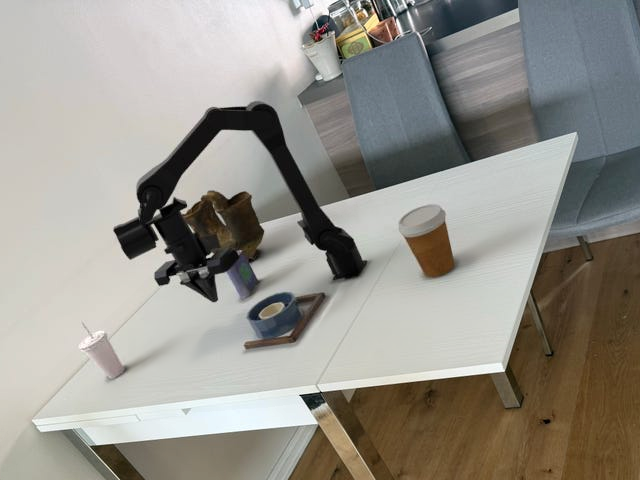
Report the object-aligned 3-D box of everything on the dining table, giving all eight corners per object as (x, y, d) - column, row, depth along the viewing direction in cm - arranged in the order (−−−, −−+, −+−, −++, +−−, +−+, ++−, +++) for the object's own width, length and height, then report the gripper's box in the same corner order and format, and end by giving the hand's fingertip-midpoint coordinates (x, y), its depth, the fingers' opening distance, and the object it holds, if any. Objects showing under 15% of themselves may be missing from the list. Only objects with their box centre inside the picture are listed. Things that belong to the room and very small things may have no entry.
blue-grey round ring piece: (311, 307, 144) (302, 288, 141) (291, 337, 136) (280, 318, 134) (271, 314, 149) (261, 296, 146) (248, 343, 141) (237, 324, 139)
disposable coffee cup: (410, 285, 135) (388, 231, 129) (425, 259, 142) (405, 208, 136) (454, 278, 131) (434, 223, 124) (468, 253, 137) (449, 199, 131)
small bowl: (294, 314, 143) (287, 300, 141) (284, 329, 139) (276, 316, 137) (273, 317, 146) (266, 304, 144) (262, 333, 142) (254, 319, 140)
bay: (326, 297, 145) (323, 291, 144) (295, 344, 133) (292, 338, 132) (280, 305, 151) (277, 300, 150) (246, 351, 139) (243, 345, 138)
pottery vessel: (288, 246, 179) (253, 176, 169) (262, 269, 173) (224, 198, 163) (227, 250, 195) (192, 187, 185) (201, 271, 189) (164, 207, 179)
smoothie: (113, 383, 150) (76, 332, 143) (98, 381, 154) (60, 331, 147) (134, 364, 154) (99, 314, 147) (119, 363, 158) (83, 314, 151)
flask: (249, 299, 160) (227, 260, 155) (238, 302, 161) (216, 263, 156) (261, 279, 167) (240, 241, 162) (250, 282, 168) (229, 245, 163)
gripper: (233, 208, 138) (268, 274, 146) (165, 226, 146) (201, 287, 154) (205, 235, 130) (244, 303, 138) (135, 252, 138) (175, 315, 146)
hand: (215, 301), depth 144 cm, fingers closed
